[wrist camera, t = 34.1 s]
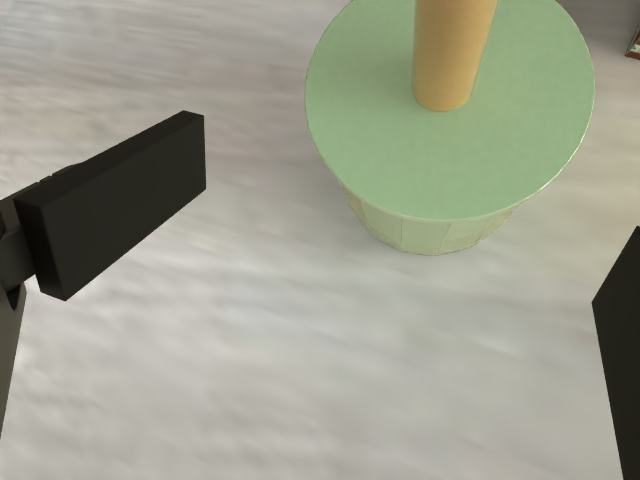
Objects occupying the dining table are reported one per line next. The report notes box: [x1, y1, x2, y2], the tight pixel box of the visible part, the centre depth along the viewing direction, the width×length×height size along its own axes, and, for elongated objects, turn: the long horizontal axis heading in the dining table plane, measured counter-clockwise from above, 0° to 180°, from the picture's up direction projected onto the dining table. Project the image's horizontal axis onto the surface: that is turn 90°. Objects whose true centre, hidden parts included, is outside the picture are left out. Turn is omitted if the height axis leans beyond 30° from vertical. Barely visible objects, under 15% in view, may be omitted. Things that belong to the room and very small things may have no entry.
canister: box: [341, 184, 518, 255], centre depth 29 cm, size 13×13×12 cm
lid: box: [305, 0, 595, 224], centre depth 19 cm, size 14×14×10 cm
